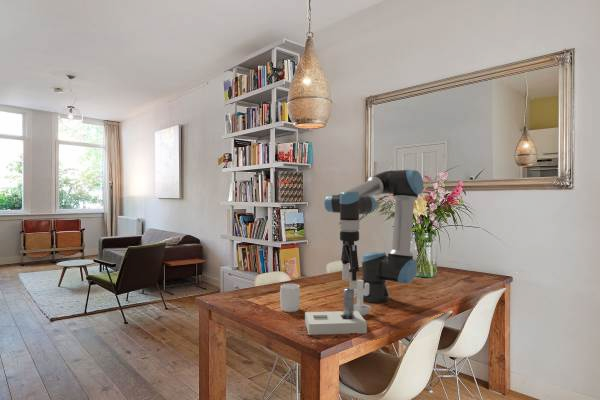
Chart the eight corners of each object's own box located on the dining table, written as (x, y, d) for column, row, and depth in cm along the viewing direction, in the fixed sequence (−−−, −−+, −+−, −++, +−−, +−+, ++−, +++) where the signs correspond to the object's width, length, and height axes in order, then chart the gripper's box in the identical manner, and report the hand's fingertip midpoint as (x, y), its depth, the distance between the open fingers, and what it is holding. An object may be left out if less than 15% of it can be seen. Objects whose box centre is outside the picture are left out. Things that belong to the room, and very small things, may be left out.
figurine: (357, 309, 170) (357, 276, 169) (373, 315, 162) (374, 280, 162) (346, 312, 165) (346, 279, 165) (362, 318, 158) (362, 283, 157)
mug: (287, 303, 178) (287, 281, 178) (303, 309, 169) (303, 286, 168) (272, 306, 173) (272, 283, 172) (287, 313, 163) (288, 289, 163)
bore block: (357, 320, 155) (357, 310, 155) (366, 333, 142) (366, 322, 141) (304, 321, 153) (305, 312, 153) (309, 334, 139) (309, 324, 139)
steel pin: (352, 322, 150) (352, 287, 150) (354, 325, 146) (355, 290, 146) (342, 322, 150) (342, 287, 149) (344, 326, 146) (344, 290, 145)
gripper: (334, 227, 159) (334, 276, 160) (347, 234, 134) (347, 293, 135) (351, 226, 160) (351, 276, 161) (367, 234, 135) (367, 292, 136)
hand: (349, 284), depth 148 cm, fingers open, 13 cm apart
